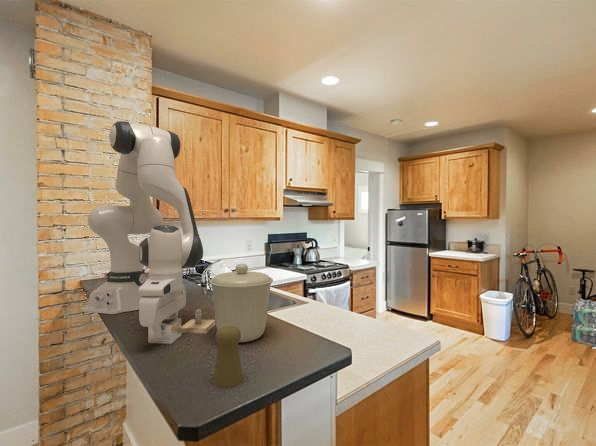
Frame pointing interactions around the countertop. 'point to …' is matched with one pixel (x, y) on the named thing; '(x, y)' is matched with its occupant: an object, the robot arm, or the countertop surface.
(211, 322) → the base plate
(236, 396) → the countertop surface
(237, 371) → the olive pepper mill
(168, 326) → the white hollow square block
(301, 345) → the countertop surface
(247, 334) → the canister
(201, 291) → the countertop surface
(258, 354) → the countertop surface
